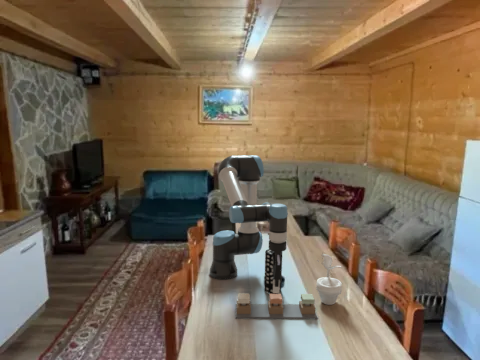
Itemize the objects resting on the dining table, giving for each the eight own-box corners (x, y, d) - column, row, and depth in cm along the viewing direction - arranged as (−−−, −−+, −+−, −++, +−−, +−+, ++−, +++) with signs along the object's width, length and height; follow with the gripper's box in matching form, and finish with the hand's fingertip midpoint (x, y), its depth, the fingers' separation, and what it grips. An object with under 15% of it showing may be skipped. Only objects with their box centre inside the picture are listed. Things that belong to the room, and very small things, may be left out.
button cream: (237, 304, 164) (238, 293, 163) (249, 304, 164) (249, 293, 163) (238, 310, 159) (238, 299, 158) (249, 310, 159) (249, 299, 158)
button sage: (300, 304, 164) (300, 293, 163) (311, 304, 164) (312, 294, 163) (302, 310, 159) (303, 299, 158) (314, 310, 159) (314, 299, 158)
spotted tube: (271, 284, 188) (272, 247, 185) (284, 290, 182) (285, 252, 179) (260, 289, 183) (261, 251, 179) (273, 295, 177) (274, 256, 173)
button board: (235, 305, 167) (235, 297, 166) (312, 306, 168) (312, 298, 167) (235, 318, 156) (235, 310, 155) (317, 319, 157) (318, 310, 156)
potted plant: (310, 298, 175) (313, 248, 170) (330, 294, 179) (333, 245, 175) (326, 311, 163) (329, 257, 159) (347, 306, 168) (351, 254, 164)
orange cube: (269, 304, 164) (269, 293, 163) (280, 304, 164) (280, 293, 163) (270, 310, 159) (270, 299, 158) (281, 310, 159) (282, 299, 158)
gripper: (267, 235, 163) (266, 285, 166) (270, 245, 150) (268, 299, 154) (284, 235, 163) (282, 285, 167) (288, 245, 150) (286, 299, 154)
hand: (276, 292), depth 160 cm, fingers closed
